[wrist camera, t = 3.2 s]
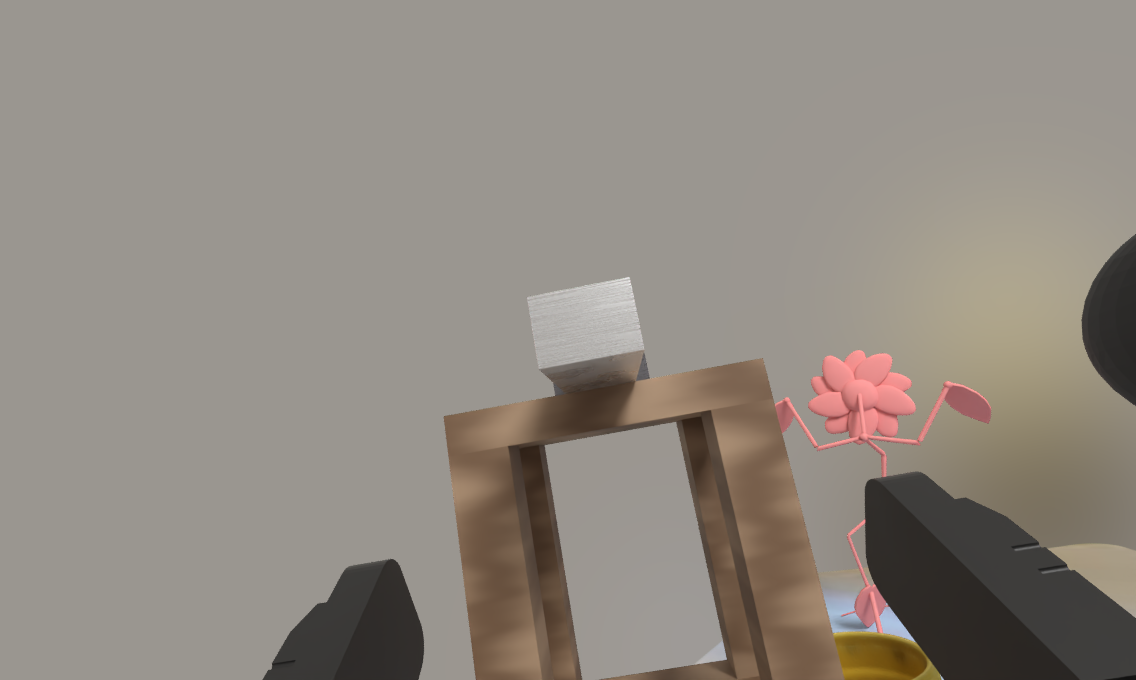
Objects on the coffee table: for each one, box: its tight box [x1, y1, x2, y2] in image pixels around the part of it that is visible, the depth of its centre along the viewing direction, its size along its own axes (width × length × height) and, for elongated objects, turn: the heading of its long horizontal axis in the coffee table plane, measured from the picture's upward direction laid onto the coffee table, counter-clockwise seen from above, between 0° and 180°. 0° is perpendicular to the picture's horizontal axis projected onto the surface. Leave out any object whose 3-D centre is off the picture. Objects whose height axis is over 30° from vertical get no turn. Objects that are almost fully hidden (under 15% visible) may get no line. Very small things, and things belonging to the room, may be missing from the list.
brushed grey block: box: [527, 277, 650, 396], centre depth 27 cm, size 20×6×3 cm, turn 175°
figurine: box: [775, 350, 991, 633], centre depth 69 cm, size 15×26×35 cm, turn 58°
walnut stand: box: [444, 358, 845, 680], centre depth 29 cm, size 16×14×31 cm
